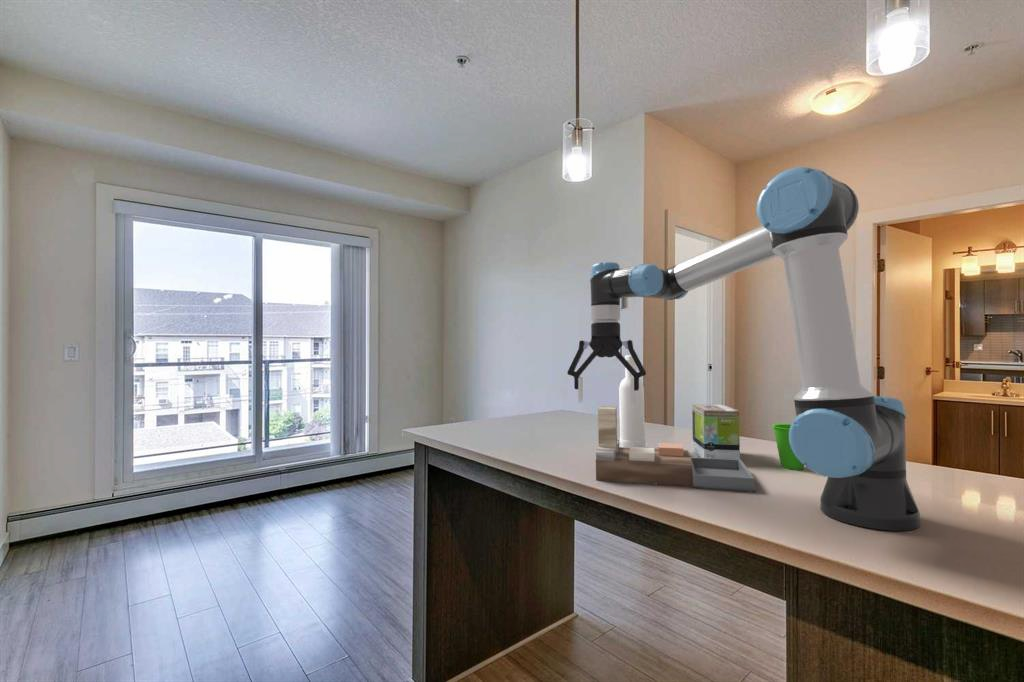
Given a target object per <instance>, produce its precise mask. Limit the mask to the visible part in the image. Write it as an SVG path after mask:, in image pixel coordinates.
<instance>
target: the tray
mask: <svg viewBox="0 0 1024 682" xmlns="http://www.w3.org/2000/svg"><path fill="white" fill-rule="evenodd" d="M690 459H691V462H692V474H693V487H695V488H694V489H703V488H707V490H718V489H721V490H722V489H724V490H722V491H733V490H737V491H736V492H748V491H753V492H752V493H755V492H756V487H755V486H756V484H755V483H756V480H755V479H756V478H755V477H754V476H753V474H752V472H751V471H750V470H749V469H748V467H747V466H746V464H745V463H744V462H743V460H742V459H740V460H738V459H718V458H701V457H695V456H694V457H692V456H690ZM693 487H692V488H693Z"/></svg>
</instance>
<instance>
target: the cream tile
mask: <svg viewBox="0 0 1024 682" xmlns="http://www.w3.org/2000/svg"><path fill="white" fill-rule="evenodd" d="M654 449H655V447H645V448H640V447H630V450H629V460H633V461H652V462H655V450H654Z"/></svg>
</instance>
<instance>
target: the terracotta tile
mask: <svg viewBox="0 0 1024 682" xmlns="http://www.w3.org/2000/svg"><path fill="white" fill-rule="evenodd" d="M658 449H659V455H663V456H683V457H684V454H683V450H684V446H683V443H671V442H658Z"/></svg>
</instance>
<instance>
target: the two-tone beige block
mask: <svg viewBox="0 0 1024 682" xmlns="http://www.w3.org/2000/svg"><path fill="white" fill-rule="evenodd" d="M617 408H618V407H617V406H605V405H604V406H599V407H598V408H597V423H598V424H597V426H598V427H597V428H598V429H597V430H598V436H597V437H598V448H597V449H596V451H595V461H596V460H606V461H614V460H615V457H616V454H617V452H618V449H619V447H620V439H618V409H617Z"/></svg>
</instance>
